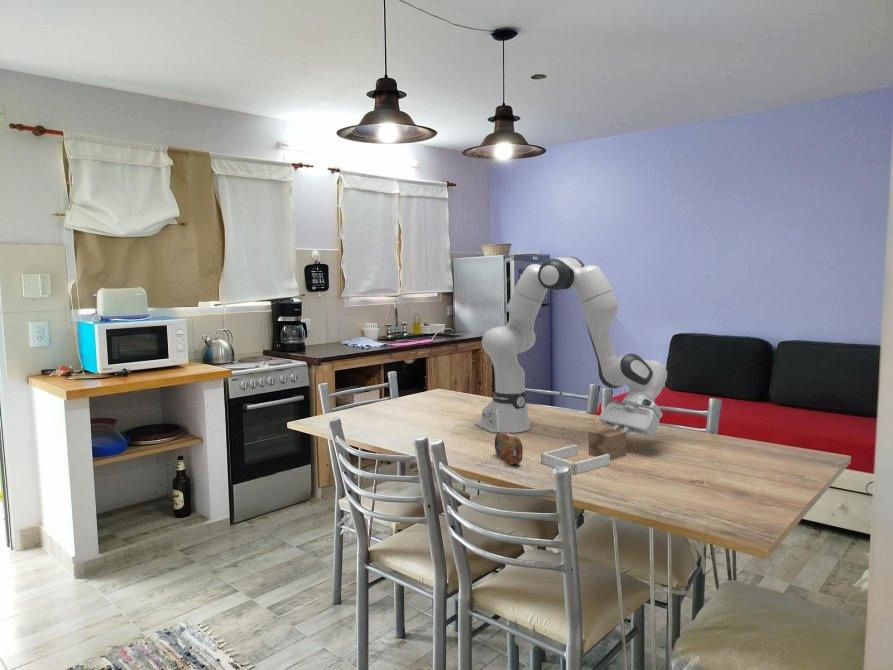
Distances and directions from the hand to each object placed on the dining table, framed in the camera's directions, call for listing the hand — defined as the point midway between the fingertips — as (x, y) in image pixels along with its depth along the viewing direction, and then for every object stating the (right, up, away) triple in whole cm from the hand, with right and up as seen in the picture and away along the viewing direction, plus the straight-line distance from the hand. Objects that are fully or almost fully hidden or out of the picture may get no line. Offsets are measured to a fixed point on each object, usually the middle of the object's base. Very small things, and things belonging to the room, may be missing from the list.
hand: (616, 439), depth 192 cm
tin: (-35, -6, -5) cm, 36 cm away
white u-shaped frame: (-15, -6, -10) cm, 19 cm away
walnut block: (-4, -5, -2) cm, 6 cm away
